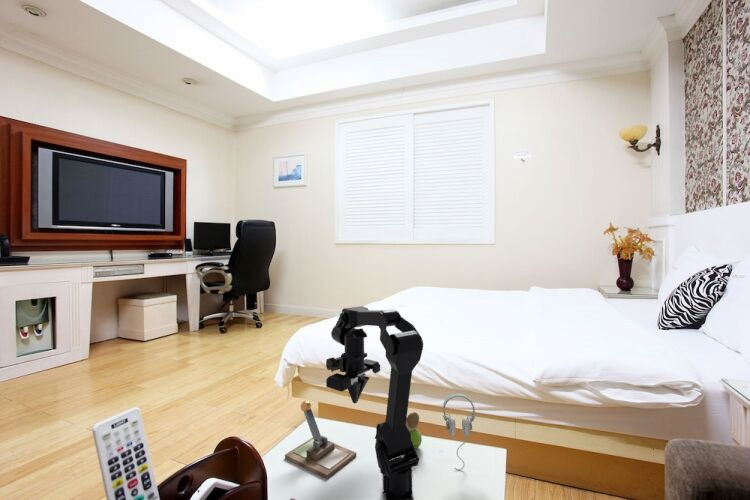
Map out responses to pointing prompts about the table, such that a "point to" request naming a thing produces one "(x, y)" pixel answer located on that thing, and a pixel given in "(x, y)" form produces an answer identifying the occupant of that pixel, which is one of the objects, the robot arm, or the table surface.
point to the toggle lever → (311, 421)
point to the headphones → (465, 421)
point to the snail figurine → (414, 429)
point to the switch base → (315, 466)
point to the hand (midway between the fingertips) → (354, 402)
